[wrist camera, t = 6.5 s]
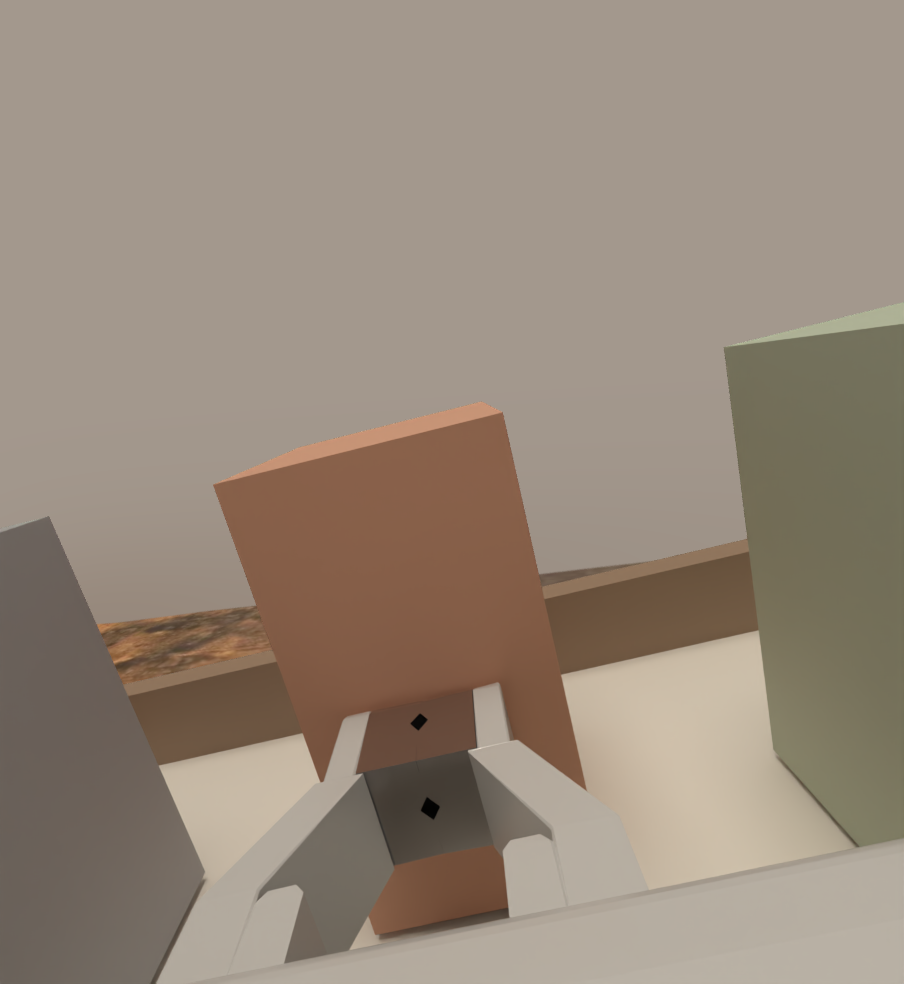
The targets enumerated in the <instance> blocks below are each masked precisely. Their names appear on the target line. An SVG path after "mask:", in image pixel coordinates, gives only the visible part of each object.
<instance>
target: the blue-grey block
mask: <svg viewBox="0 0 904 984" xmlns="http://www.w3.org/2000/svg"><path fill="white" fill-rule="evenodd" d="M204 874H205V870H204V868H203V866H202V863H201V861H200V859H199V856H198V854H197V852H196V850H195V847H194V845H193V843H192V841H191V838H190V836H189V834H188V831H187V829H186V827H185V825H184V822H183V820H182V818H181V816H180V813H179V811H178V809H177V806H176V804H175V802H174V800H173V797H172V795H171V793H170V790H169V788H168V786H167V784H166V781H165V779H164V777H163V775H162V772H161V770H160V768H159V765H158V763H157V761H156V759H155V756H154V754H153V752H152V750H151V747H150V745H149V743H148V740H147V738H146V736H145V734H144V731H143V729H142V727H141V725H140V722H139V720H138V718H137V715H136V713H135V711H134V709H133V706H132V704H131V702H130V700H129V697H128V695H127V693H126V690H125V688H124V686H123V684H122V681H121V679H120V677H119V675H118V672H117V670H116V668H115V665H114V663H113V661H112V659H111V656H110V654H109V652H108V649H107V647H106V645H105V643H104V640H103V638H102V636H101V634H100V631H99V629H98V627H97V624H96V622H95V620H94V618H93V615H92V613H91V611H90V609H89V606H88V604H87V602H86V599H85V597H84V595H83V593H82V590H81V588H80V586H79V584H78V581H77V579H76V577H75V575H74V572H73V570H72V568H71V565H70V563H69V561H68V559H67V556H66V554H65V552H64V549H63V547H62V545H61V543H60V540H59V538H58V536H57V534H56V532H55V529H54V527H53V524H52V522H51V520H50V518H49V516H48V517H45V518H40V519H36V520H32V521H28V522H24V523H20V524H17V525H12V526H8V527H4V528H0V984H150V983H151V981H152V979H153V977H154V975H155V973H156V971H157V969H158V967H159V965H160V963H161V961H162V959H163V957H164V955H165V953H166V951H167V948H168V946H169V944H170V942H171V940H172V938H173V936H174V934H175V932H176V930H177V928H178V926H179V924H180V922H181V920H182V918H183V916H184V914H185V912H186V910H187V908H188V906H189V904H190V902H191V900H192V898H193V896H194V894H195V892H196V890H197V888H198V886H199V884H200V882H201V880H202V878H203V876H204Z"/></svg>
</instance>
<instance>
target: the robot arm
mask: <svg viewBox="0 0 904 984" xmlns="http://www.w3.org/2000/svg"><path fill="white" fill-rule="evenodd" d="M490 845H494V847H495V849H496V850H497V851H498V853H499V854H500V855H501V856H502V858H503V859H504V868H505V878H506V888H507V898H508V908H509V918H506V919H501V920H496V921H491V922H486V923H481V924H476V925H471V926H466V927H461V928H456V929H451V930H447V931H442V932H437V933H432V934H427V935H422V936H417V937H412V938H407V939H402V940H397V941H393V942H388V943H383V944H378V945H373V946H368V947H363V948H358V949H353V950H349V949H350V947H351V946H352V944H353V942H354V940H355V939H356V937H357V935H358V933H359V931H360V930H361V928H362V926H363V924H364V923H365V921H366V919H367V917H368V916H369V914H370V912H371V910H372V908H373V907H374V905H375V903H376V901H377V900H378V898H379V896H380V894H381V892H382V891H383V889H384V887H385V885H386V884H387V882H388V880H389V878H390V876H391V875H392V873H393V871H394V866H395V865H399V864H403V863H407V862H411V861H416V860H420V859H424V858H428V857H432V856H436V855H440V854H445V853H451V852H456V851H462V850H468V849H473V848H479V847H485V846H490ZM156 984H904V838H902V839H897V840H892V841H887V842H882V843H877V844H872V845H867V846H862V847H857V848H852V849H847V850H842V851H837V852H832V853H827V854H822V855H818V856H813V857H808V858H803V859H798V860H793V861H788V862H783V863H778V864H773V865H768V866H763V867H758V868H754V869H749V870H744V871H739V872H734V873H730V874H725V875H720V876H715V877H710V878H706V879H701V880H696V881H691V882H686V883H681V884H676V885H671V886H666V887H661V888H656V889H651V890H649V889H648V886H647V884H646V881H645V879H644V876H643V874H642V871H641V869H640V866H639V864H638V861H637V859H636V856H635V854H634V851H633V849H632V846H631V844H630V841H629V839H628V836H627V834H626V831H625V829H624V826H623V824H622V821H621V819H620V816H619V815H618V814H617V813H615V812H614V811H613V810H611V809H610V808H609V807H607V806H606V805H605V804H603V803H602V802H601V801H599V800H598V799H597V798H595V797H594V796H593V795H591V794H590V793H589V792H587V791H586V790H584V789H583V788H582V787H580V786H579V785H578V784H576V783H575V782H574V781H572V780H571V779H570V778H568V777H567V776H566V775H564V774H563V773H562V772H560V771H559V770H558V769H556V768H555V767H554V766H552V765H551V764H550V763H548V762H547V761H546V760H544V759H543V758H542V757H540V756H539V755H538V754H536V753H535V752H534V751H532V750H531V749H530V748H528V747H527V746H526V745H524V744H523V743H522V742H520V741H519V740H514V737H513V733H512V729H511V725H510V721H509V717H508V713H507V709H506V705H505V701H504V697H503V693H502V689H501V686H500V684H499V683H498V682H497V683H493V684H489V685H485V686H482V687H478V688H474V689H473V690H472V689H471V690H467V691H463V692H459V693H455V694H451V695H447V696H443V697H439V698H435V699H431V700H427V701H419V702H414V703H409V704H404V705H399V706H394V707H389V708H384V709H379V710H374V711H372V712H371V711H368V712H364V713H359V714H355V715H351V716H347V717H346V718H345V719H344V720H343V721H342V724H341V727H340V731H339V734H338V737H337V740H336V743H335V746H334V750H333V753H332V756H331V759H330V762H329V765H328V769H327V772H326V775H325V778H324V781H323V782H321V783H316V784H315V785H314V786H313V787H312V788H311V789H310V790H308V791H307V792H306V793H305V794H304V795H303V796H302V797H301V798H300V799H299V800H298V801H297V802H296V803H295V804H294V805H293V806H292V807H291V808H290V809H289V810H288V811H287V812H286V813H285V814H284V815H283V816H282V817H281V818H280V819H279V820H278V821H277V822H276V823H275V824H274V825H273V826H272V827H271V828H270V829H269V830H268V831H267V832H266V833H265V834H264V835H263V836H262V837H261V838H260V839H259V840H258V841H257V842H256V843H255V844H254V845H253V846H252V847H251V848H250V849H249V850H248V851H247V852H246V853H245V854H244V855H243V856H242V857H241V858H240V859H239V860H238V861H237V862H236V863H235V864H234V865H233V866H232V867H231V868H230V869H229V870H228V871H227V872H226V873H225V874H224V875H223V876H222V877H221V878H220V879H219V880H218V881H217V882H216V883H215V884H214V885H213V886H212V887H211V888H210V889H209V890H208V891H207V892H206V893H205V894H204V895H203V896H202V897H201V898H200V899H199V900H198V901H197V902H196V903H195V905H194V907H193V909H192V912H191V914H190V916H189V918H188V920H187V922H186V924H185V926H184V928H183V930H182V932H181V934H180V936H179V938H178V940H177V942H176V944H175V946H174V948H173V950H172V952H171V955H170V957H169V959H168V961H167V963H166V965H165V967H164V969H163V971H162V973H161V975H160V977H159V979H158V981H157V983H156Z"/></svg>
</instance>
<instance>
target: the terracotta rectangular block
mask: <svg viewBox="0 0 904 984" xmlns="http://www.w3.org/2000/svg"><path fill="white" fill-rule="evenodd" d="M213 486H214V488H215V491H216V494H217V497H218V500H219V502H220V505H221V508H222V511H223V514H224V516H225V519H226V521H227V525H228V527H229V530H230V533H231V536H232V538H233V541H234V544H235V547H236V550H237V552H238V555H239V558H240V561H241V564H242V566H243V569H244V572H245V574H246V577H247V580H248V583H249V586H250V589H251V591H252V594H253V597H254V599H255V602H256V605H257V608H258V611H259V614H260V616H261V619H262V622H263V625H264V627H265V630H266V633H267V636H268V639H269V641H270V644H271V647H272V650H273V653H274V655H275V658H276V661H277V664H278V666H279V669H280V672H281V675H282V678H283V680H284V683H285V686H286V689H287V691H288V694H289V697H290V700H291V703H292V705H293V708H294V711H295V714H296V716H297V719H298V722H299V725H300V728H301V730H302V733H303V736H304V739H305V741H306V744H307V747H308V750H309V753H310V755H311V758H312V761H313V764H314V766H315V769H316V772H317V775H318V778H319V780H320V783H321V782H323V781H324V778H325V775H326V772H327V769H328V765H329V762H330V759H331V756H332V753H333V750H334V746H335V743H336V740H337V737H338V734H339V731H340V727H341V724H342V721H343V720H344V719H345V718H346V717H347V716H351V715H355V714H359V713H364V712H368V711H371V712H372V711H374V710H379V709H384V708H389V707H394V706H399V705H404V704H409V703H414V702H419V701H427V700H431V699H435V698H439V697H443V696H447V695H451V694H455V693H459V692H463V691H467V690H471V689H472V690H473V689H474V688H478V687H482V686H485V685H489V684H493V683H497V682H498V683H499V684H500V686H501V689H502V693H503V697H504V701H505V705H506V709H507V713H508V717H509V721H510V725H511V729H512V733H513V737H514V740H519V741H520V742H522V743H523V744H524V745H526V746H527V747H528V748H530V749H531V750H532V751H534V752H535V753H536V754H538V755H539V756H540V757H542V758H543V759H544V760H546V761H547V762H548V763H550V764H551V765H552V766H554V767H555V768H556V769H558V770H559V771H560V772H562V773H563V774H564V775H566V776H567V777H568V778H570V779H571V780H572V781H574V782H575V783H576V784H578V785H579V786H580V787H582V788H583V789H584V790H586V791H587V789H586V785H585V780H584V776H583V771H582V767H581V762H580V758H579V753H578V749H577V744H576V740H575V735H574V731H573V726H572V722H571V717H570V713H569V708H568V704H567V699H566V695H565V690H564V686H563V681H562V677H561V672H560V668H559V663H558V659H557V654H556V650H555V645H554V641H553V636H552V632H551V627H550V623H549V618H548V614H547V609H546V605H545V600H544V596H543V591H542V587H541V582H540V578H539V573H538V569H537V565H536V560H535V555H534V551H533V546H532V542H531V537H530V533H529V528H528V524H527V520H526V515H525V510H524V506H523V502H522V497H521V493H520V488H519V483H518V479H517V474H516V470H515V466H514V461H513V457H512V452H511V448H510V443H509V438H508V434H507V429H506V425H505V421H504V416H503V412H501V411H499V410H497V409H495V408H493V407H491V406H489V405H487V404H485V403H484V402H478V403H474V404H470V405H466V406H462V407H458V408H454V409H450V410H446V411H442V412H438V413H434V414H430V415H426V416H422V417H419V418H414V419H411V420H406V421H403V422H398V423H394V424H390V425H386V426H382V427H378V428H374V429H370V430H366V431H363V432H358V433H354V434H350V435H346V436H342V437H338V438H334V439H331V440H326V441H323V442H319V443H314V444H311V445H307V446H303V447H299V448H297V449H294V450H292V451H290V452H287V453H285V454H283V455H280V456H278V457H276V458H274V459H271V460H269V461H267V462H264V463H262V464H260V465H257V466H255V467H253V468H251V469H248V470H246V471H243V472H241V473H239V474H237V475H234V476H232V477H230V478H227V479H225V480H223V481H220V482H218V483H216V484H214V485H213ZM504 908H508V898H507V888H506V878H505V868H504V859H503V858H502V856H501V855H500V854H499V853H498V851H497V850H496V849H495V847H494V845H490V846H485V847H479V848H473V849H468V850H462V851H456V852H451V853H445V854H440V855H436V856H432V857H428V858H424V859H420V860H416V861H411V862H407V863H403V864H399V865H395V866H394V871H393V873H392V875H391V876H390V878H389V880H388V882H387V884H386V885H385V887H384V889H383V891H382V892H381V894H380V896H379V898H378V900H377V901H376V903H375V905H374V907H373V908H372V910H371V912H370V914H369V916H368V917H369V919H370V922H371V925H372V928H373V930H374V933H375V935H378V934H383V933H388V932H393V931H398V930H403V929H407V928H412V927H417V926H422V925H427V924H432V923H436V922H441V921H446V920H451V919H456V918H461V917H465V916H470V915H475V914H480V913H485V912H490V911H495V910H499V909H504Z"/></svg>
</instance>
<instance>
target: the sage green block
mask: <svg viewBox="0 0 904 984" xmlns="http://www.w3.org/2000/svg"><path fill="white" fill-rule="evenodd" d="M724 352H725V359H726V367H727V377H728V384H729V393H730V401H731V409H732V417H733V425H734V434H735V441H736V449H737V458H738V466H739V474H740V482H741V490H742V498H743V507H744V515H745V523H746V530H747V539H748V548H749V556H750V564H751V572H752V580H753V588H754V596H755V605H756V613H757V621H758V629H759V637H760V645H761V653H762V662H763V670H764V678H765V686H766V694H767V702H768V710H769V719H770V727H771V735H772V743H773V750H774V751H775V752H776V753H777V754H778V755H779V757H780V758H781V759H782V760H783V761H784V762H785V763H786V764H787V766H788V767H789V768H790V769H791V770H792V771H793V772H794V773H795V774H796V776H797V777H798V778H799V779H800V780H801V781H802V782H803V783H804V785H805V786H806V787H807V788H808V789H809V790H810V791H811V792H812V794H813V795H814V796H815V797H816V798H817V799H818V800H819V801H820V803H821V804H822V805H823V806H824V807H825V808H826V809H827V810H828V811H829V813H830V814H831V815H832V816H833V817H834V818H835V819H836V820H837V822H838V823H839V824H840V825H841V826H842V827H843V828H844V829H845V831H846V832H847V833H848V834H849V835H850V836H851V837H852V838H853V839H854V841H855V842H856V843H857V844H858V845H859V846H860V847H862V846H867V845H872V844H877V843H882V842H887V841H892V840H897V839H902V838H904V302H903V303H899V304H895V305H891V306H887V307H883V308H879V309H875V310H871V311H867V312H863V313H859V314H855V315H851V316H847V317H843V318H839V319H835V320H831V321H827V322H823V323H819V324H815V325H811V326H807V327H803V328H799V329H795V330H791V331H787V332H783V333H779V334H775V335H771V336H767V337H763V338H759V339H755V340H751V341H747V342H743V343H739V344H735V345H731V346H727V347H724Z"/></svg>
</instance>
